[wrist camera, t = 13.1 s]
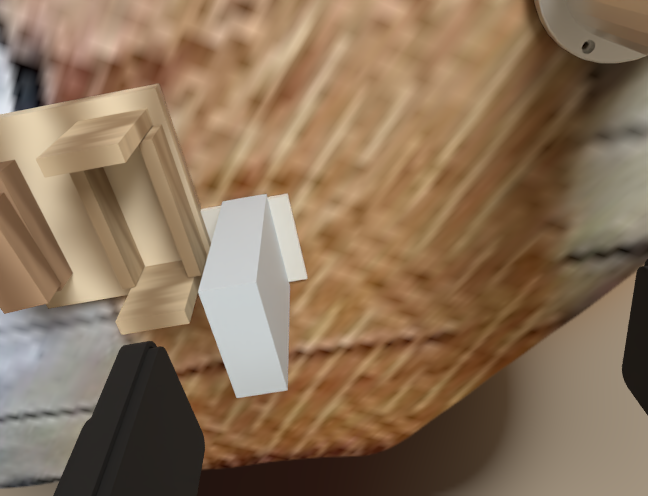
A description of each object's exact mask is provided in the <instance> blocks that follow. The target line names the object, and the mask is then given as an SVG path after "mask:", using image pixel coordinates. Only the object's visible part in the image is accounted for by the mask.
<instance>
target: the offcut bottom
mask: <svg viewBox="0 0 648 496" xmlns="http://www.w3.org/2000/svg"><path fill="white" fill-rule="evenodd" d="M0 193H5V195H6V196H7V198H8V199H9V201H10V202H11V204H12V206H13V207H14V209H15V210H16V212H17V214H18V215H19V217H20V218H21V220H22V222H23V223H24V225H25V226H26V228H27V230H28V231H29V233H30V234H31V236H32V238H33V239H34V241H35V242H36V244H37V246H38V247H39V249H40V250H41V252H42V254H43V255H44V257H45V258H46V260H47V262H48V263H49V265H50V266H51V268H52V270H53V271H54V273H55V274H56V276H57V278H58V279H59V281H60V282H61V285H60V286H59V288H58V289H57V291H62V289H63V287H64V286H65V284H66V283H67V281H68V280H69V278H70V277H71V275H72V274H73V272H72V270H71V268H70V266H69V264H68V262H67V260H66V258H65V256H64V254H63V252H62V250H61V248H60V247H59V245H58V243H57V241H56V239H55V237H54V235H53V233H52V231H51V229H50V227H49V225H48V223H47V221H46V219H45V217H44V215H43V213H42V211H41V209H40V208H39V206H38V204H37V202H36V200H35V198H34V196H33V194H32V192H31V190H30V188H29V186H28V184H27V182H26V180H25V178H24V176H23V174H22V172H21V170H20V169H19V167H18V165H17V163H16V161H15V160H10V161H5V162H0ZM57 291H56V292H57Z"/></svg>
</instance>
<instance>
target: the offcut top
mask: <svg viewBox="0 0 648 496" xmlns="http://www.w3.org/2000/svg"><path fill="white" fill-rule="evenodd" d="M60 285H61V282H60V281H59V279H58V278H57V276H56V274H55V273H54V271H53V270H52V268H51V266H50V265H49V263H48V262H47V260H46V258H45V257H44V255H43V254H42V252H41V250H40V249H39V247H38V246H37V244H36V242H35V241H34V239H33V238H32V236H31V234H30V233H29V231H28V230H27V228H26V226H25V225H24V223H23V222H22V220H21V218H20V217H19V215H18V214H17V212H16V210H15V209H14V207H13V206H12V204H11V202H10V201H9V199H8V198H7V196H6V195H5V193H0V308H1V310H2V311H3V312H4V314H6V313H10V312H14V311H18V310H22V309H27V308H31V307H35V306H39V305H43V304H47V303H49V301H50V300H51V298H52V297H53V295H54V294H55V292H56V291H57V289H58V288H59V286H60Z"/></svg>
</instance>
